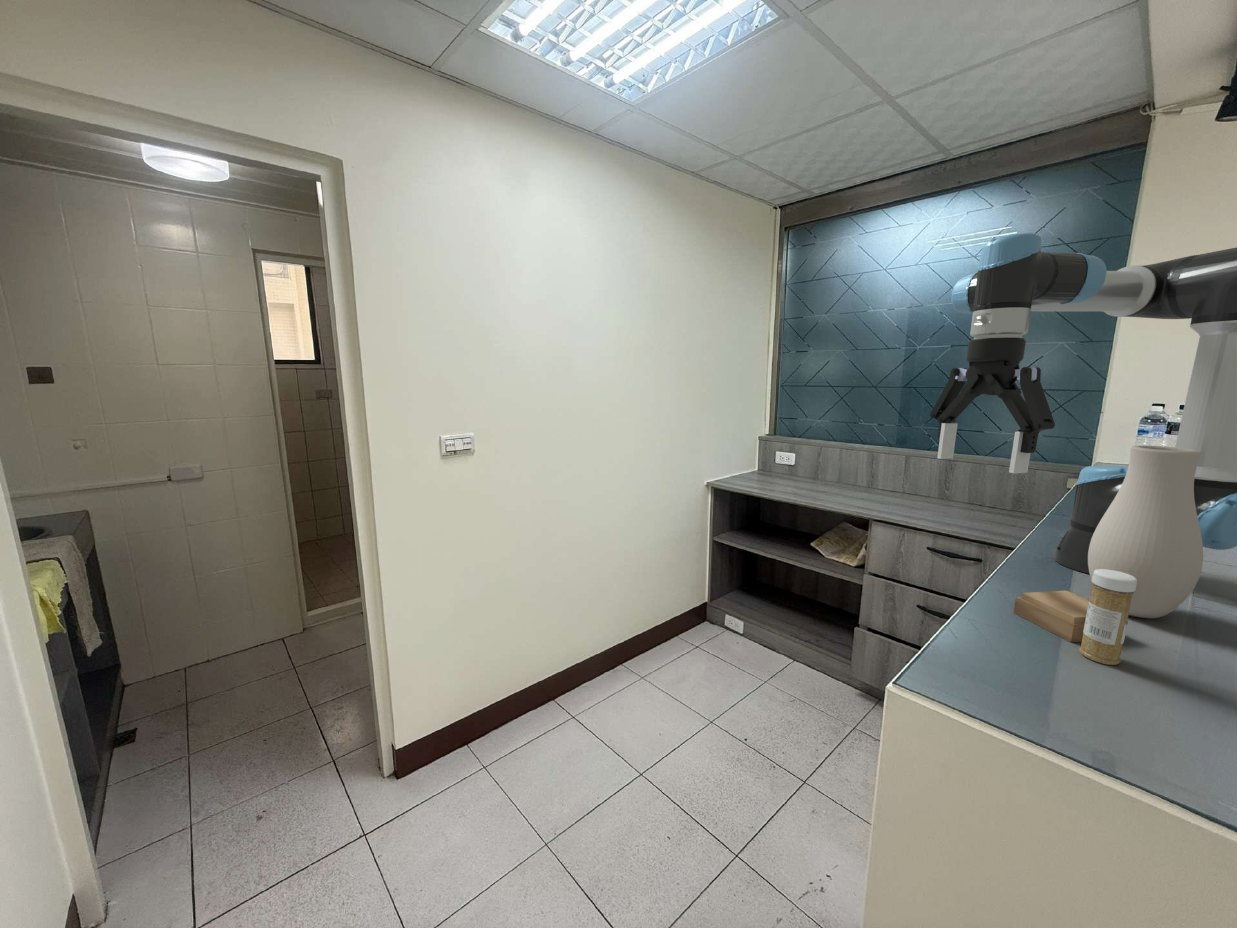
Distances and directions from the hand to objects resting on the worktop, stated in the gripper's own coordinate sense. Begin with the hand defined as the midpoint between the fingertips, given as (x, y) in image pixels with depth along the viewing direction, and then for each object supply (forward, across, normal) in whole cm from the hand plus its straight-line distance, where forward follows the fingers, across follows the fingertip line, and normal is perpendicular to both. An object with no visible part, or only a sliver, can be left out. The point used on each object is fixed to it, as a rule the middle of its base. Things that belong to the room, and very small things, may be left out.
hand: (978, 465), depth 84 cm
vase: (+27, +6, +31) cm, 42 cm away
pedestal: (+27, +8, +14) cm, 31 cm away
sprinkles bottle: (+27, +17, +8) cm, 33 cm away
